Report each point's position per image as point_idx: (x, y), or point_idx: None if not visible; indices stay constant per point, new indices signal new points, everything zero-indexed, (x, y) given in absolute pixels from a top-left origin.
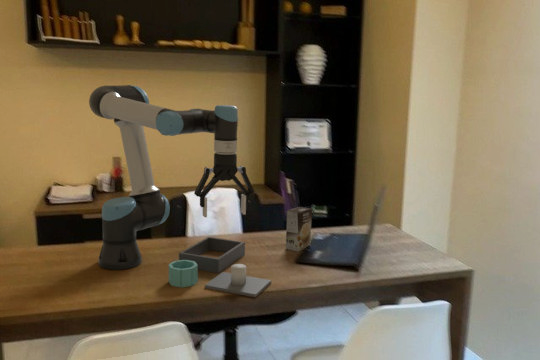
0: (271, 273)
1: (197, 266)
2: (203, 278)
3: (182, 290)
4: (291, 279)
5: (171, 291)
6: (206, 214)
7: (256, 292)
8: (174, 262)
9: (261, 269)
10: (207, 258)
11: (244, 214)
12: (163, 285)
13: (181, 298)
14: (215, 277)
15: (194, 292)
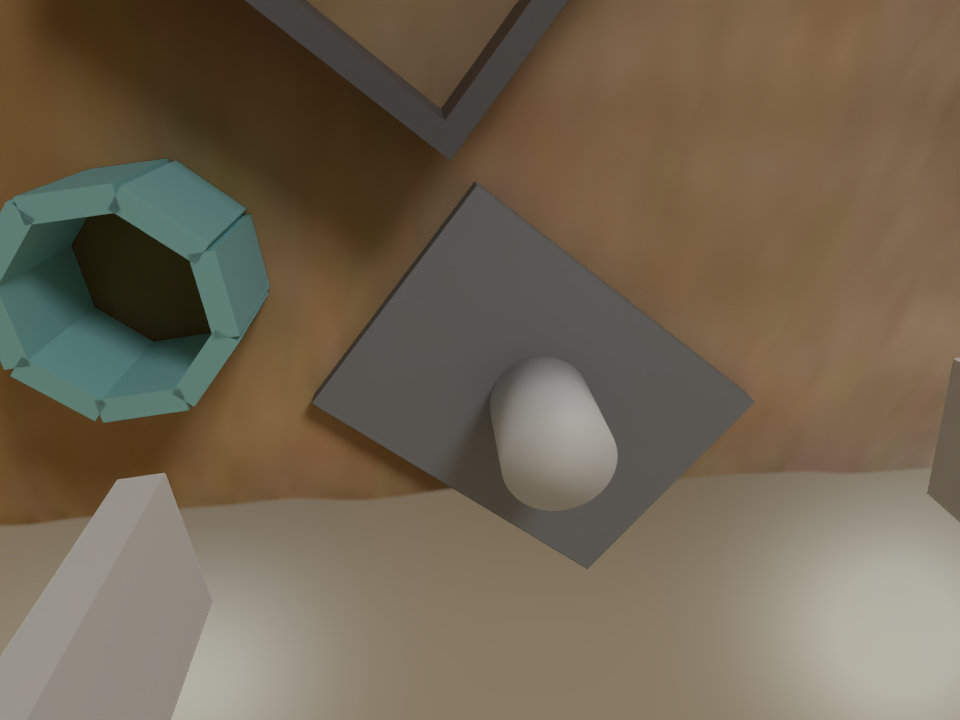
0: (826, 231)
1: (240, 339)
2: (316, 228)
3: None
4: (894, 359)
5: None
6: (186, 647)
7: (599, 548)
8: (15, 241)
9: (795, 131)
10: (350, 81)
11: (945, 491)
12: None
13: None
14: (400, 289)
15: (244, 446)
